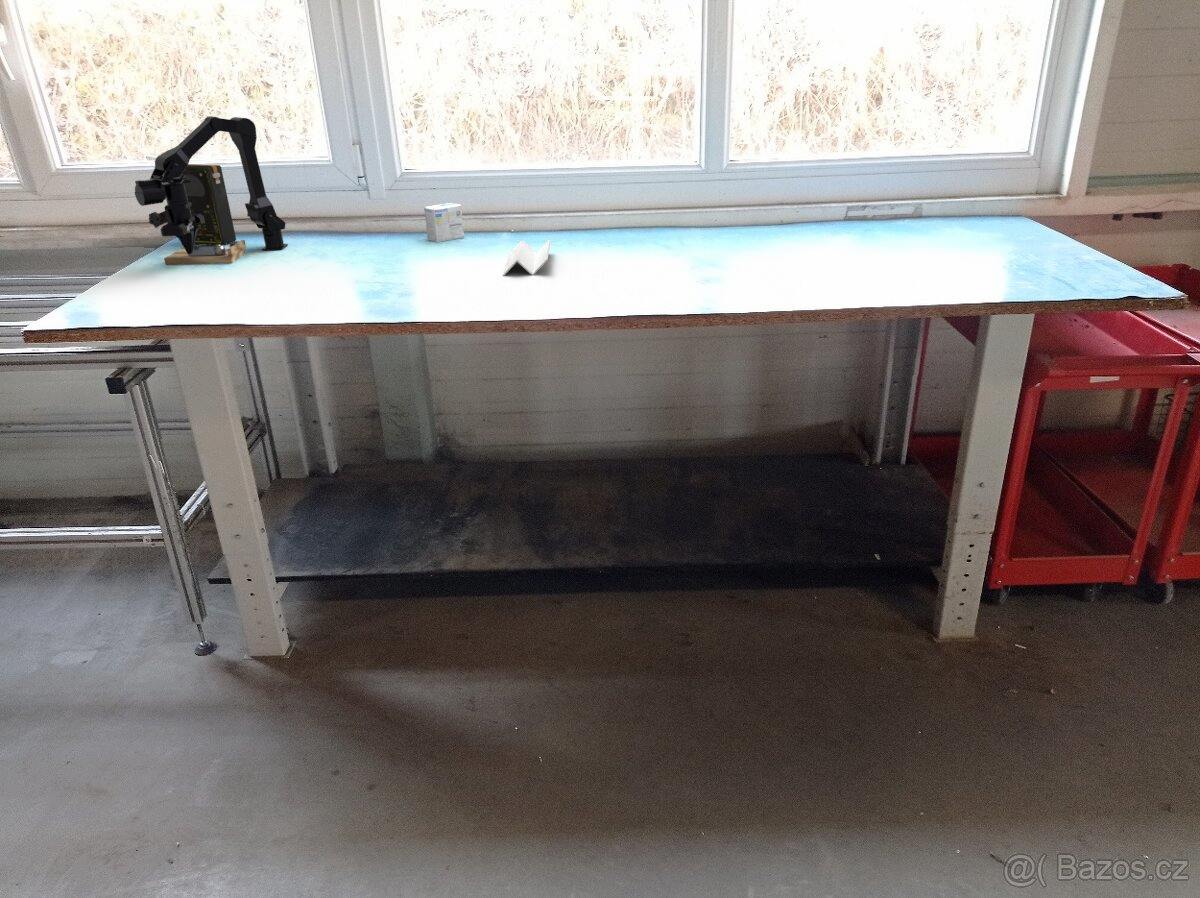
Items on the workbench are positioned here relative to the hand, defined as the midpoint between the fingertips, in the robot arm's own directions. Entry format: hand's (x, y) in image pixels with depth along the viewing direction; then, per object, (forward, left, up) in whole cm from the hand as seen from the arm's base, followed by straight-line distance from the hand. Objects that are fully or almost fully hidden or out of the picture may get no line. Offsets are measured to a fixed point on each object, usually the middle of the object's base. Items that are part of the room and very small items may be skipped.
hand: (190, 253), depth 255 cm
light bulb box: (-28, +72, -4) cm, 78 cm away
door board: (-7, +1, -4) cm, 8 cm away
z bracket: (+9, +102, -4) cm, 102 cm away
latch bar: (-4, +4, -1) cm, 5 cm away
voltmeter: (-30, -6, -4) cm, 31 cm away
